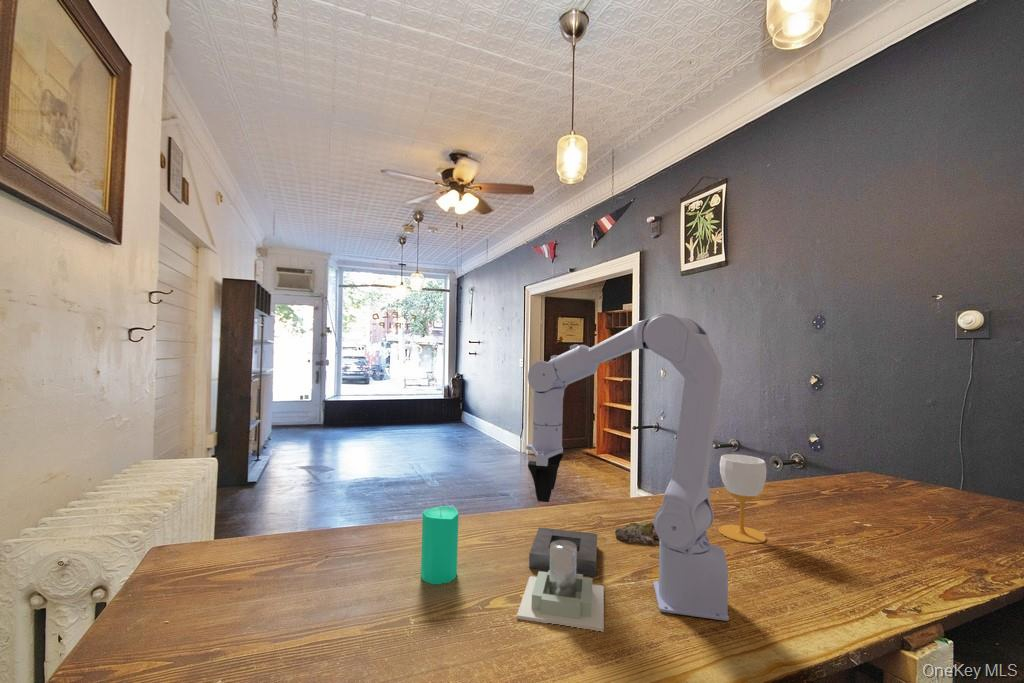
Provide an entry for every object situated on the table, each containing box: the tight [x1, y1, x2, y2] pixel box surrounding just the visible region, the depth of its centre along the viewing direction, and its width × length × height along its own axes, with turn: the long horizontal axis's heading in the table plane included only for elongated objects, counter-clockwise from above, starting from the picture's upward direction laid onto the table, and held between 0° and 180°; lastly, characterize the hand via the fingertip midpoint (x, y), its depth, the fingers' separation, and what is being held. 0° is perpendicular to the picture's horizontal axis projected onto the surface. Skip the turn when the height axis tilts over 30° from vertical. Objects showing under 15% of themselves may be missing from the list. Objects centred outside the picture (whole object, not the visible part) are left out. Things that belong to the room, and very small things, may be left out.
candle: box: [420, 502, 460, 585], centre depth 72 cm, size 6×6×12 cm
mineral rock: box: [614, 521, 660, 546], centre depth 89 cm, size 11×4×8 cm
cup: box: [718, 453, 768, 544], centre depth 92 cm, size 9×9×16 cm
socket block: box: [528, 527, 598, 577], centre depth 80 cm, size 12×12×2 cm
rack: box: [516, 570, 605, 633], centre depth 65 cm, size 12×11×2 cm
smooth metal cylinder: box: [549, 540, 577, 598], centre depth 65 cm, size 4×4×8 cm
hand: (546, 494), depth 83 cm, fingers open, 7 cm apart
